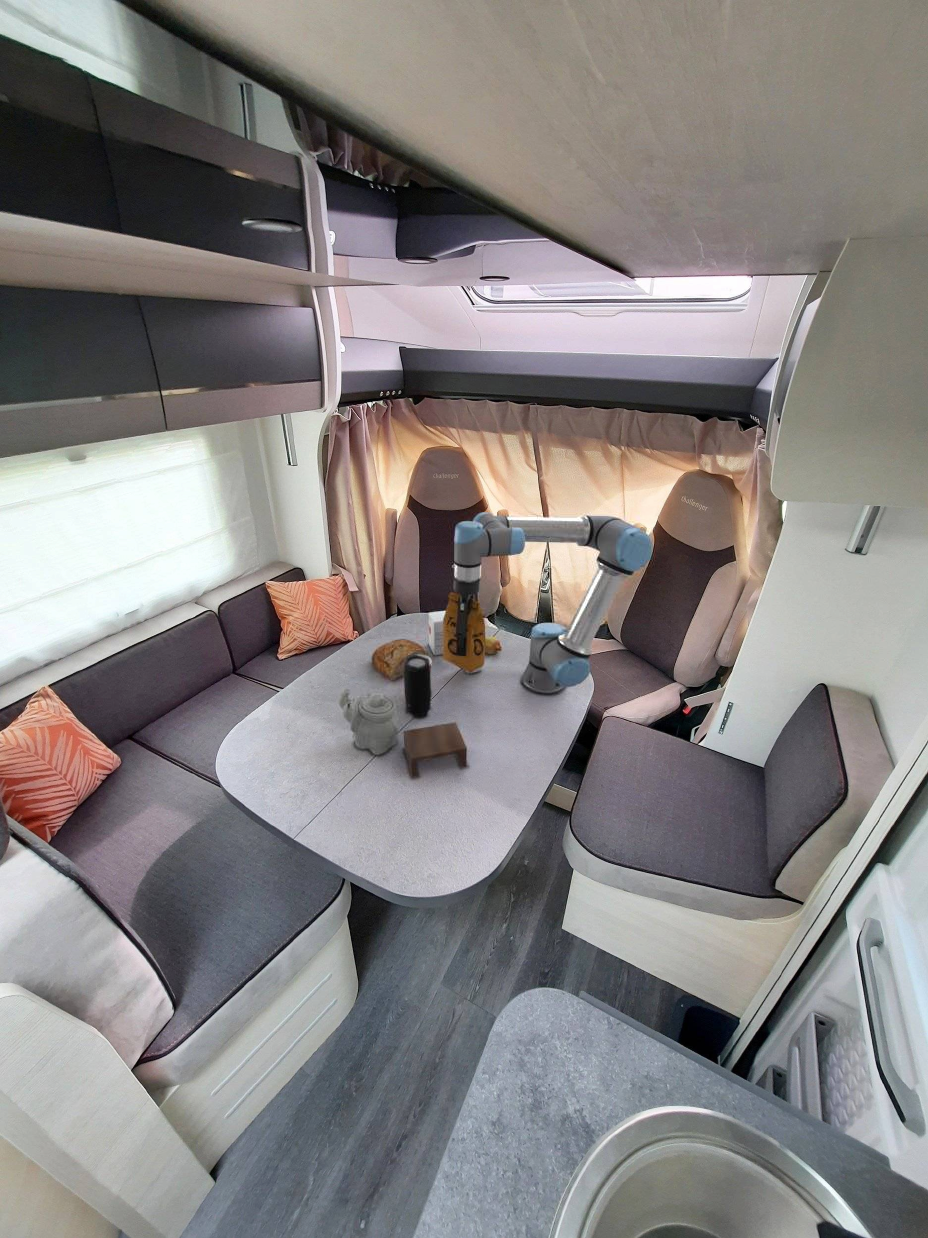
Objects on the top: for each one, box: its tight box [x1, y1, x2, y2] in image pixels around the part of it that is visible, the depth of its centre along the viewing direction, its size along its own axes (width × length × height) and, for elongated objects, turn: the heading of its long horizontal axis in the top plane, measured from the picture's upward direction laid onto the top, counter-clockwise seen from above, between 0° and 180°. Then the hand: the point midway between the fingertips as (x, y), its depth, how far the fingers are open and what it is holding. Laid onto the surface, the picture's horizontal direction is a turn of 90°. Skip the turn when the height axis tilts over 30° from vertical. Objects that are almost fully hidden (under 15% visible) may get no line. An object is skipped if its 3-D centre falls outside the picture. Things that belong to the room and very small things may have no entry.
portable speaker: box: [403, 655, 432, 719], centre depth 166 cm, size 9×9×20 cm
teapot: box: [338, 688, 399, 756], centre depth 152 cm, size 16×15×19 cm
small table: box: [402, 721, 468, 778], centre depth 149 cm, size 16×12×7 cm
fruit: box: [485, 636, 503, 655], centre depth 203 cm, size 7×7×10 cm
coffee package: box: [442, 591, 487, 674], centre depth 150 cm, size 10×12×22 cm
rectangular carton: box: [427, 610, 446, 656], centre depth 203 cm, size 9×9×15 cm
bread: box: [371, 638, 429, 681], centre depth 193 cm, size 20×18×10 cm
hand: (464, 645), depth 152 cm, fingers closed on coffee package, 11 cm apart
